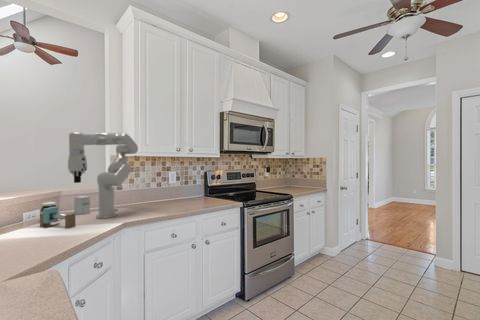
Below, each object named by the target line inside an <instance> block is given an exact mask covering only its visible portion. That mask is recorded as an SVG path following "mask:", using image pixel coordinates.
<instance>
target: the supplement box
mask: <svg viewBox="0 0 480 320" xmlns="http://www.w3.org/2000/svg"><path fill="white" fill-rule="evenodd" d="M73 200H74V202H73V204H74V205H73V207H74V208H73V209H74V211H73V213H74V214H75V215H79V216H80V215H86V214H89V213H90V212H91V196H87V195H80V196H75V197H74V199H73Z"/></svg>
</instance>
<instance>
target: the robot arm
mask: <svg viewBox="0 0 480 320" xmlns="http://www.w3.org/2000/svg"><path fill="white" fill-rule="evenodd" d="M68 145H69V146H68V150H69V152H68V153H69V154H68V160H67V167H68V168H67V171H69V173H70V174H72V176H73V183H74V184H76V183H77V184H79V183H82V175H83V174H85V173H86V171H87V170H88V162H87V156H86V154H85V153H86V152H85V146H94V145H95V146H111V145H113V146H115V145H116V147H115V152H116V157H115V159H114V160H113V161H112V163H110V164H109V166H108V168H107V172H106V171H104V172H101V173H99V174H98V175H97V178H96V181H97V186H98V214H97V215H96V216H95V218H96V219H110V218H114V217H116V216H117V213H116V212H118V211H119V209H118V208H115V190H114V187H119V186H121V185H122V184H123V183H124V182H125V181H126V179H127V178H128V176H129V175H130V173H131V170H132V167H131V164H130V163H129V162H128V158H127V155H135V154H137V153H138V151H139V146H138V144H136V142H135V140H134V139H133V138H132V137H131V136H130V135H129V134H128V133H126V132H124V133H123V132H121V133H119V132H117V133H115V132H97V133H90V132H87V133H86V132H84V133H83V132H70V133H69V134H68Z"/></svg>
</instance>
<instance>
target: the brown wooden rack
mask: <svg viewBox="0 0 480 320" xmlns="http://www.w3.org/2000/svg"><path fill="white" fill-rule="evenodd" d="M50 219H60V220H64V228H65V229H70V228H73V227H74V228H75V227H76V214H74V212H72V213H69V214H67V213H61V214H55V213H50ZM60 224H61V223H59V222H58V223H54V224H52V222H50V223H43V213H42V214H41V213H40V214H39V227H40V228H41V227H42V228H44V229H47V228H51V227H54V226H58V225H60Z"/></svg>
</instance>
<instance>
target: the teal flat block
mask: <svg viewBox="0 0 480 320" xmlns="http://www.w3.org/2000/svg"><path fill="white" fill-rule="evenodd" d="M58 211H59V206H57V207H50V208H45V209H43V223H50V222H51V223H54V222H58V221H59V220H58V219H50V213H55V214H58Z"/></svg>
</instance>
